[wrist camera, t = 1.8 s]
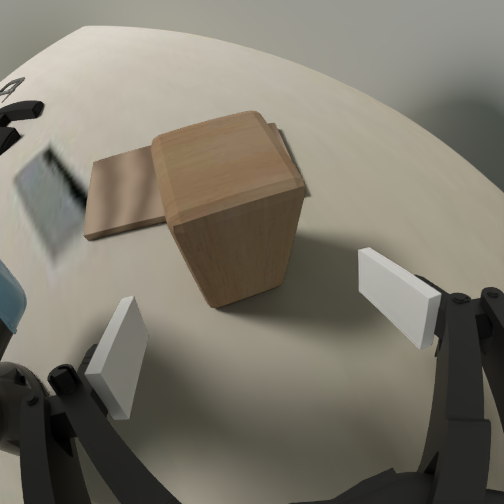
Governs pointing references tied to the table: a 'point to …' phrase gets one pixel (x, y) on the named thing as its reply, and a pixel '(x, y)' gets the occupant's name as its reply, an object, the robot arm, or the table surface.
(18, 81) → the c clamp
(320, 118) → the table surface
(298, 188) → the wooden block
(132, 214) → the floor board
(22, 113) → the black notched oval shell
